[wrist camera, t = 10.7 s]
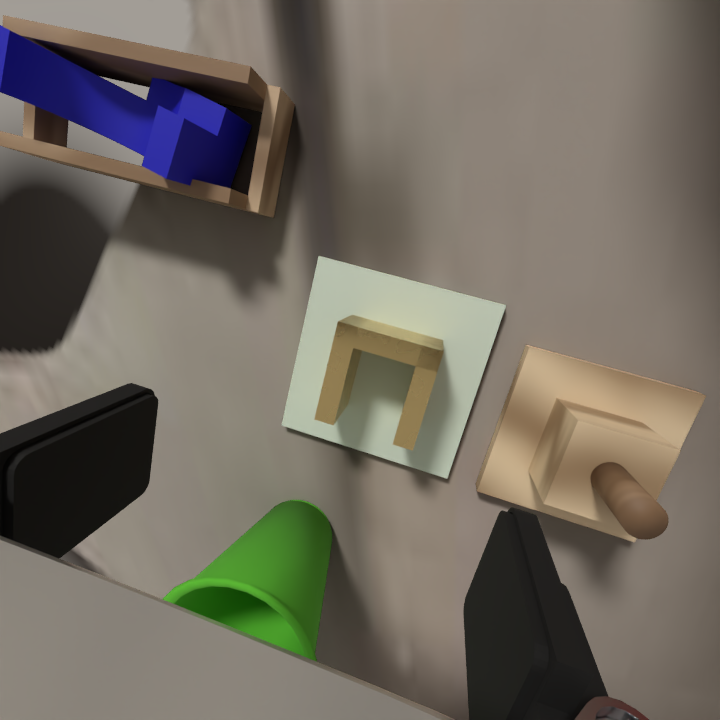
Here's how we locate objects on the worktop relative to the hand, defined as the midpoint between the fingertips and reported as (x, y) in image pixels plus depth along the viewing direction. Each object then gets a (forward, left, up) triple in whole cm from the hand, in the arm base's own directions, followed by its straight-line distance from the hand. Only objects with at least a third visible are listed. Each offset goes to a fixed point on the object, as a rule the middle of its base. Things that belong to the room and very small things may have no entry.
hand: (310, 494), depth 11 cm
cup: (+15, -3, -18) cm, 23 cm away
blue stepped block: (-11, -18, -17) cm, 27 cm away
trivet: (+1, 0, -17) cm, 17 cm away
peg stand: (+2, +13, -17) cm, 22 cm away
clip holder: (-10, -18, -17) cm, 27 cm away
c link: (+1, 0, -17) cm, 17 cm away
